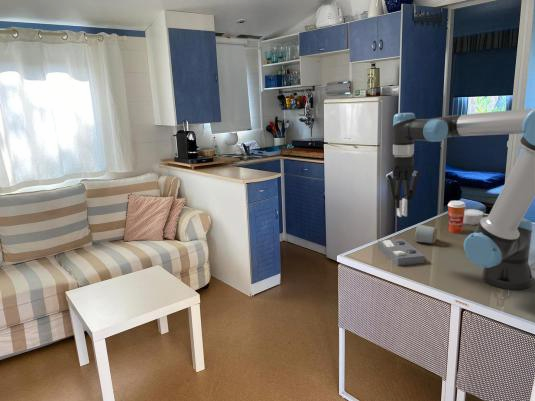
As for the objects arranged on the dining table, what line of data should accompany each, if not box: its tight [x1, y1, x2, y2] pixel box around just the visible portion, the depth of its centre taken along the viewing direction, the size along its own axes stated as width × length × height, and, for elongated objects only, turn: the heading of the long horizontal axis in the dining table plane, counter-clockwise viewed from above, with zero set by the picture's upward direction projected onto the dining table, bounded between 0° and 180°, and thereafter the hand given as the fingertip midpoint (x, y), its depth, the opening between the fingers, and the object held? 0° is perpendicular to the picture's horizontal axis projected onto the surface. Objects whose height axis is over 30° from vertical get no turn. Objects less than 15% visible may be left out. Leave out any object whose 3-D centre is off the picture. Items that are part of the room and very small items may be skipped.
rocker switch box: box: [377, 238, 426, 267], centre depth 171 cm, size 20×11×3 cm, turn 7°
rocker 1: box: [382, 239, 395, 247], centre depth 176 cm, size 5×3×1 cm, turn 8°
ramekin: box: [463, 208, 485, 226], centre depth 204 cm, size 11×11×5 cm
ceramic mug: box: [414, 224, 438, 244], centre depth 184 cm, size 11×8×8 cm
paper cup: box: [447, 200, 467, 234], centre depth 192 cm, size 8×8×14 cm
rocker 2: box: [392, 251, 405, 256], centre depth 166 cm, size 5×3×1 cm, turn 7°
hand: (401, 215), depth 160 cm, fingers closed
